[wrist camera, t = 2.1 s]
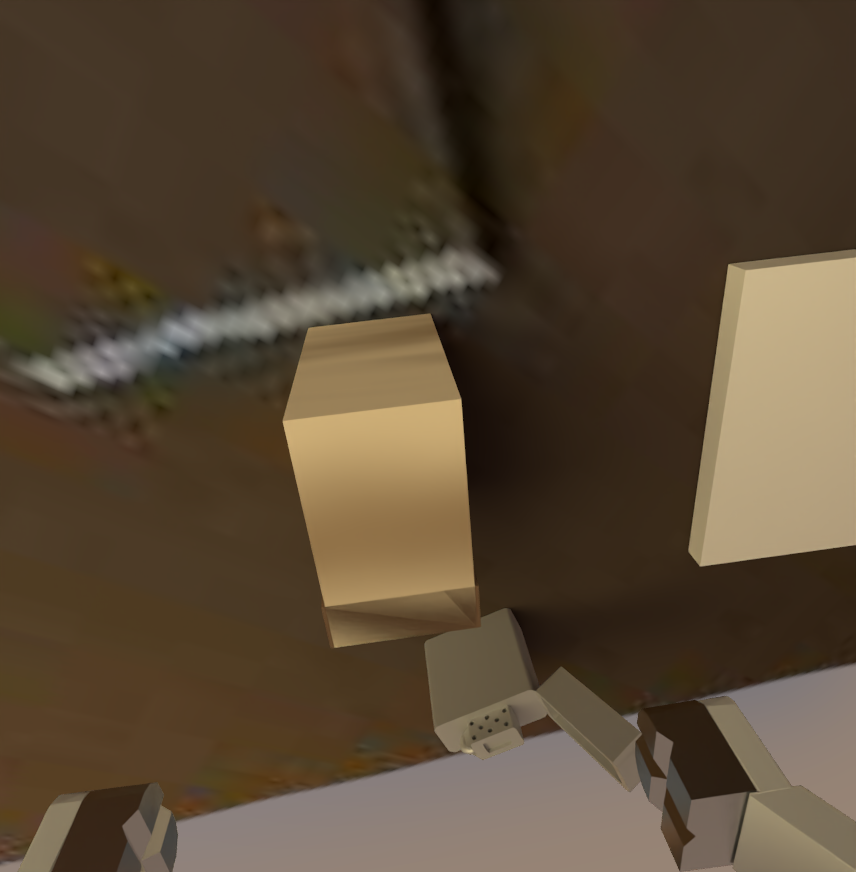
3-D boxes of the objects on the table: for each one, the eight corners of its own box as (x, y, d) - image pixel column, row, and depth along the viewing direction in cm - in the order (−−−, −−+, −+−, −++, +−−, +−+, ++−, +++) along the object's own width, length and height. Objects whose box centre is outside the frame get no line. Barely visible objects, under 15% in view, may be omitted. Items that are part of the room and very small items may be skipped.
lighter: (439, 666, 27) (465, 856, 20) (422, 642, 26) (444, 830, 19) (584, 606, 26) (666, 782, 19) (572, 579, 25) (652, 752, 18)
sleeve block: (305, 328, 19) (278, 421, 13) (433, 313, 20) (465, 398, 13) (339, 506, 23) (330, 648, 16) (449, 491, 23) (481, 626, 17)
